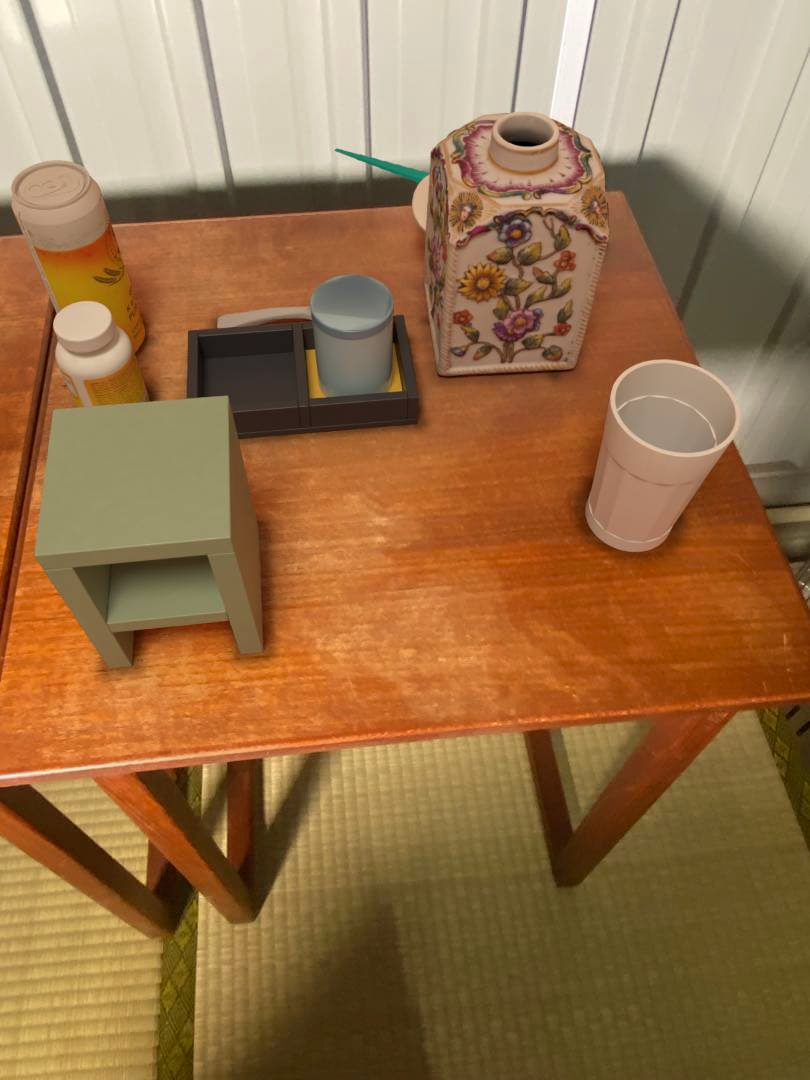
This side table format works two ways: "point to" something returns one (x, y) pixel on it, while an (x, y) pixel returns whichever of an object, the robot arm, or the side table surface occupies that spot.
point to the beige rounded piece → (421, 203)
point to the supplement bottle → (96, 357)
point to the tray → (291, 381)
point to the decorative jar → (513, 244)
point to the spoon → (262, 316)
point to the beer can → (74, 241)
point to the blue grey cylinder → (353, 335)
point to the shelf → (150, 522)
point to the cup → (657, 450)
